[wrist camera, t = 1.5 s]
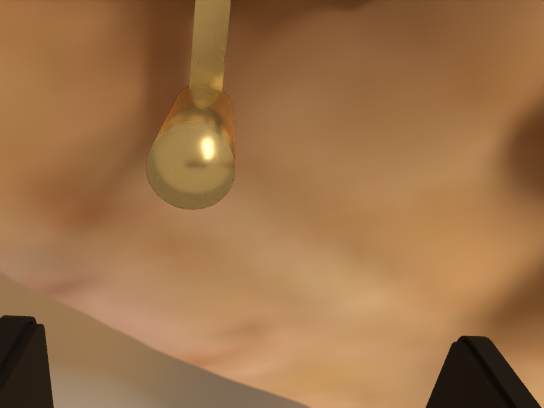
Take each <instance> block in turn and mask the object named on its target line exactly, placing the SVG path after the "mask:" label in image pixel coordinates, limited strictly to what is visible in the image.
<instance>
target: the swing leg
mask: <svg viewBox="0 0 544 408" xmlns="http://www.w3.org/2000/svg"><path fill="white" fill-rule="evenodd" d="M230 6H231V0H195V14H194V27H193V41H192V55H191V69H190V82H189V86H188V87H186V88H185V89H183V90H182V91H181V92H180V94H179V95H178V96H177V98H176V100H175V102H174V104H173V106H172V108H171V110H170V112H169V114H168V116H167V118H166V120H165V122H164V124H163V126H162V127H161V129H160V131H159V133H158V135H157V137H156V139H155V141H154V143H153V145H152V147H151V149H150V151H149V154H148V157H147V161H146V173H147V177H148V180H149V183H150V185H151V187H152V188H153V190H154V191H155V192H156V193H157V195H158V196H159V197H161V198H162V199H163V200H164V201H166V202H167V203H169V204H171V205H173V206H176V207H179V208H182V209H190V210H195V209H203V208H206V207H209V206H212V205H214V204H216V203H217V202H219V201H220V200H221V199H222V198H223V197H224V196H225V195H226V194H227V193H228V191H229V190H230V188H231V186H232V183H233V181H234V175H235V143H234V108H233V104H232V102H231V100H230V98H229V97H228V95H227V94H226V93H225V92H224V91H223V90H222V83H223V73H224V64H225V54H226V45H227V35H228V26H229V16H230Z"/></svg>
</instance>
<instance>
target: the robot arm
mask: <svg viewBox="0 0 544 408" xmlns="http://www.w3.org/2000/svg"><path fill="white" fill-rule="evenodd" d="M0 408H54V407H53V399H52V390H51V381H50V372H49V363H48V354H47V345H46V338H45V328H44V326H43V324H37V323H36V320H35V318H34V317H31V316H8V315H4V316H2V317H1V318H0ZM426 408H541V407H540V405H539V404H538V403H537V401H536V400H535V399H534V397H533V396H532V395H531V393H530V392H529V391H528V389H527V388H526V387H525V385H524V384H523V383H522V381H521V380H520V379H519V377H518V376H517V375H516V373H515V372H514V371H513V369H512V368H511V367H510V365H509V364H508V363H507V361H506V360H505V359H504V357H503V356H502V355H501V353H500V352H499V351H498V349H497V348H496V347H495V345H494V344H493V343H492V341H491V340H490V339H489V338H487V337H481V336H461V337H460V338H459V339H458V341H457V342H454V343H453V344H452V345H451V347H450V350H449V352H448V355H447V357H446V360H445V362H444V364H443V367H442V369H441V372H440V374H439V377H438V379H437V381H436V384H435V386H434V389H433V391H432V394H431V396H430V398H429V401H428V403H427V406H426Z"/></svg>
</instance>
